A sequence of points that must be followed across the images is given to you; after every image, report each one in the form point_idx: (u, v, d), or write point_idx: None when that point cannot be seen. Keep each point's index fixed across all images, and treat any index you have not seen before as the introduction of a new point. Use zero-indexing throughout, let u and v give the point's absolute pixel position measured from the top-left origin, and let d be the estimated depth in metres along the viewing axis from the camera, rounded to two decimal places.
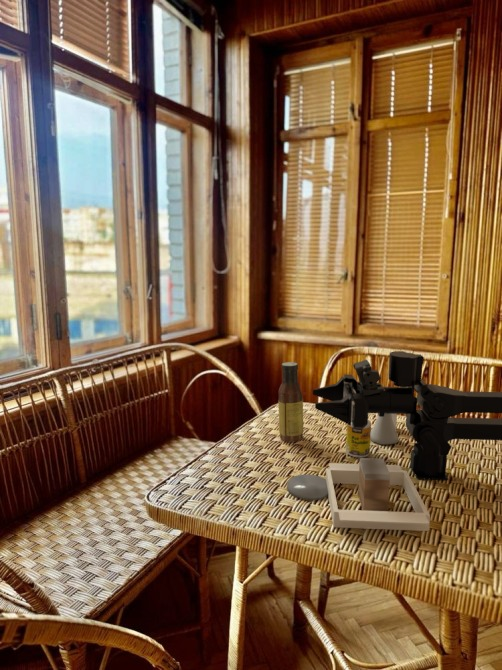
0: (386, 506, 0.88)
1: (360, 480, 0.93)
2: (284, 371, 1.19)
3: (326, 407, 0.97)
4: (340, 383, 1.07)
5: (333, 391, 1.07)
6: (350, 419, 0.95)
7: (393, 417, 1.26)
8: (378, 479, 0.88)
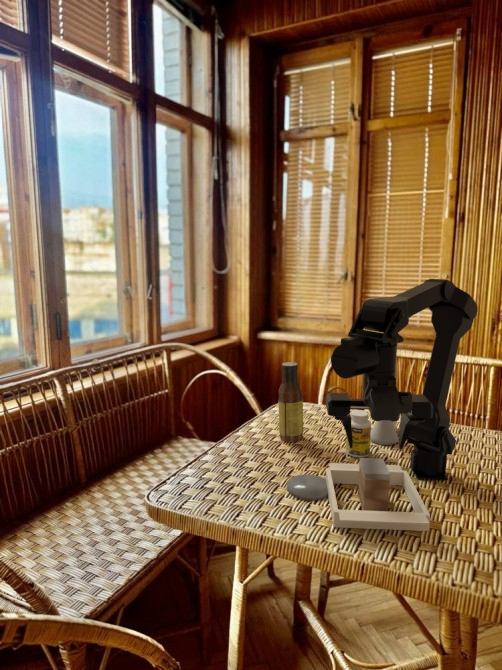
0: (386, 506, 0.88)
1: (360, 480, 0.93)
2: (284, 371, 1.19)
3: None
4: None
5: None
6: None
7: None
8: (378, 479, 0.88)
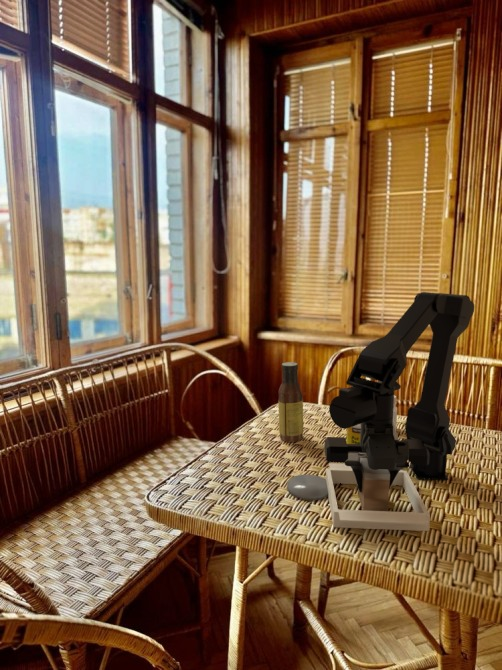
0: (386, 506, 0.88)
1: None
2: (284, 371, 1.19)
3: None
4: (360, 466, 0.89)
5: None
6: None
7: (393, 420, 1.26)
8: (378, 479, 0.88)
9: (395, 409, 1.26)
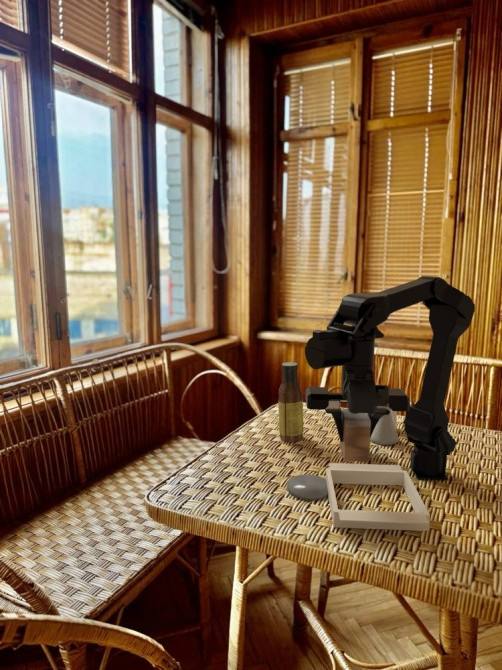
0: (367, 454, 0.88)
1: None
2: (284, 371, 1.19)
3: None
4: (341, 414, 0.88)
5: None
6: None
7: (393, 420, 1.26)
8: (359, 426, 0.87)
9: None
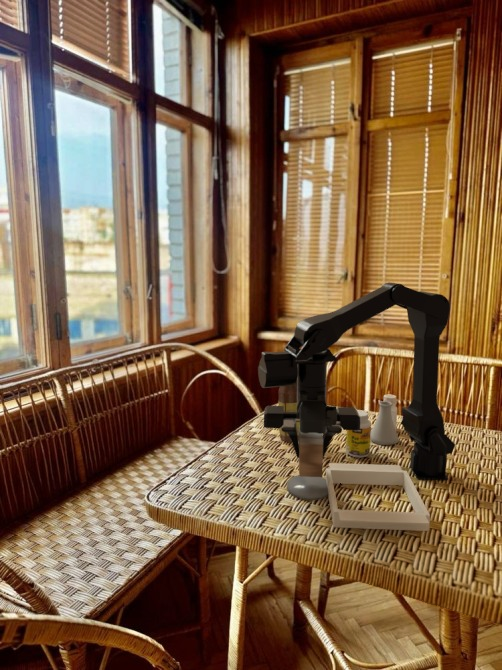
0: (320, 469, 0.93)
1: None
2: None
3: None
4: (296, 432, 0.94)
5: (297, 435, 0.96)
6: None
7: (393, 420, 1.26)
8: (312, 444, 0.92)
9: (395, 409, 1.26)
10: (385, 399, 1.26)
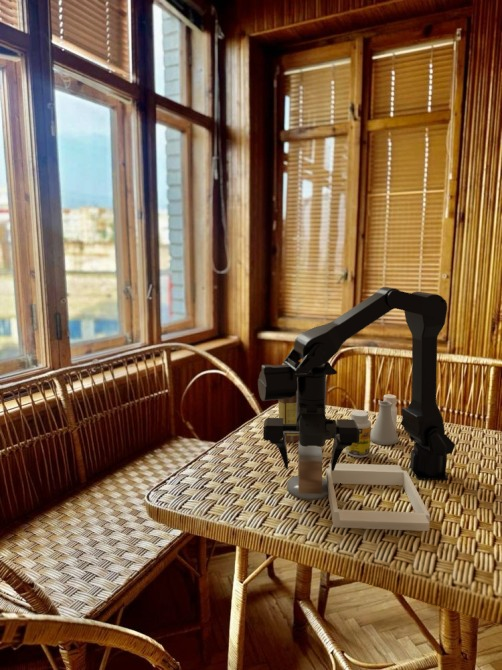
0: (320, 486, 0.94)
1: (298, 463, 0.98)
2: None
3: None
4: (285, 444, 0.94)
5: None
6: None
7: (393, 420, 1.26)
8: (311, 461, 0.93)
9: (395, 409, 1.26)
10: (385, 399, 1.26)
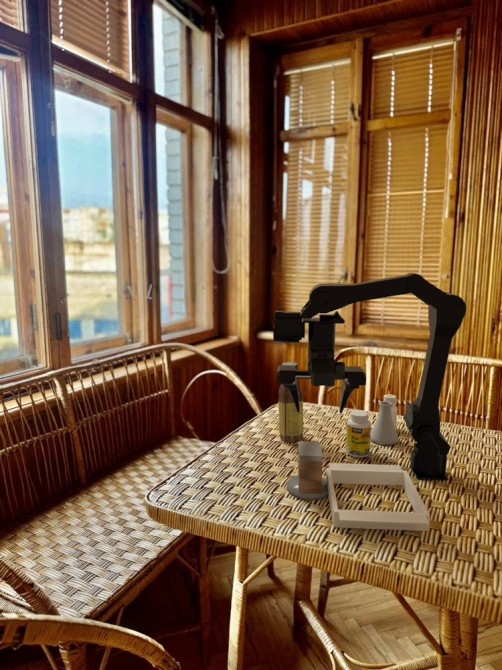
0: (320, 486, 0.94)
1: (298, 463, 0.98)
2: None
3: None
4: None
5: None
6: None
7: (393, 420, 1.26)
8: (312, 461, 0.93)
9: (395, 409, 1.26)
10: (385, 399, 1.26)
